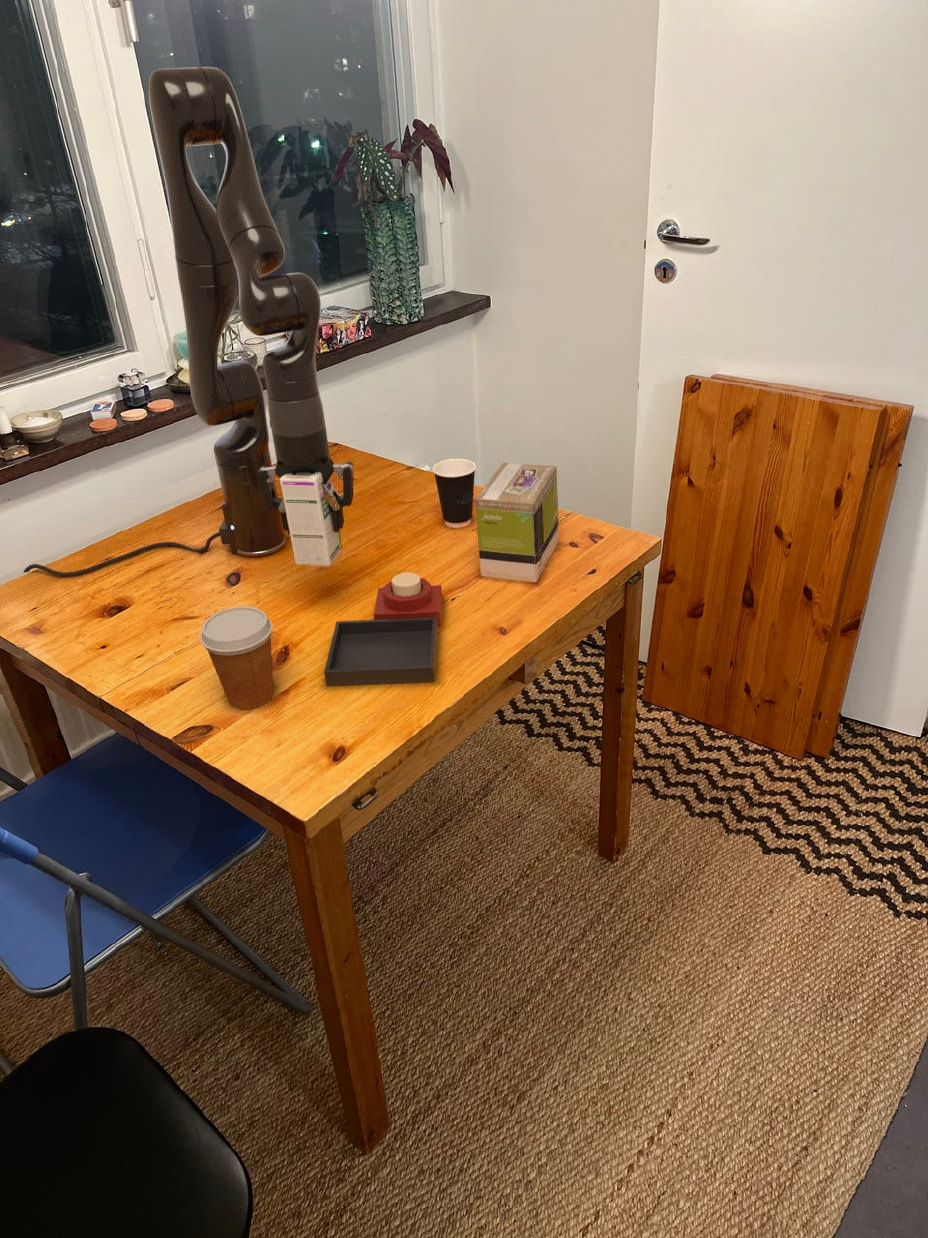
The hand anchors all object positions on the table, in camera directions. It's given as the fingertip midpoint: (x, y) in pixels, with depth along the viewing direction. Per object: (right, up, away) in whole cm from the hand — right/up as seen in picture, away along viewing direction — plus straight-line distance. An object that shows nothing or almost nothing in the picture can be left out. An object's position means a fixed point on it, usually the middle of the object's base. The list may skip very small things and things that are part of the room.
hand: (314, 530), depth 137 cm
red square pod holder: (+14, -13, +6) cm, 20 cm away
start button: (+14, -9, +3) cm, 17 cm away
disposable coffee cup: (-7, -24, -10) cm, 27 cm away
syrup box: (0, -4, +3) cm, 5 cm away
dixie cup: (+21, +5, +33) cm, 40 cm away
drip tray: (+11, -19, -4) cm, 22 cm away
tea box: (+32, -3, +19) cm, 38 cm away
